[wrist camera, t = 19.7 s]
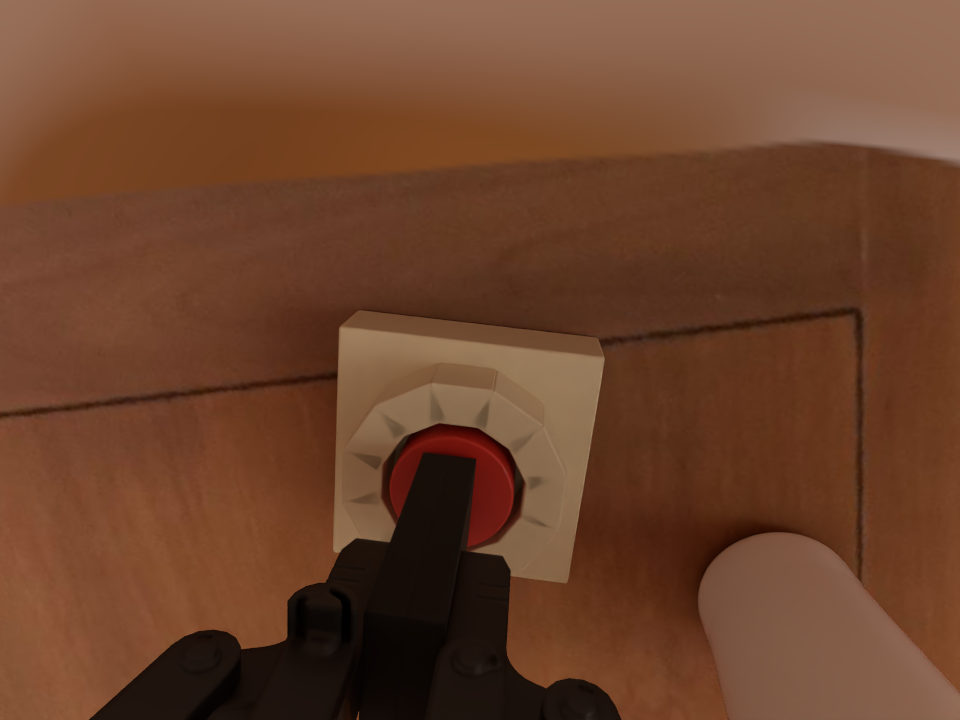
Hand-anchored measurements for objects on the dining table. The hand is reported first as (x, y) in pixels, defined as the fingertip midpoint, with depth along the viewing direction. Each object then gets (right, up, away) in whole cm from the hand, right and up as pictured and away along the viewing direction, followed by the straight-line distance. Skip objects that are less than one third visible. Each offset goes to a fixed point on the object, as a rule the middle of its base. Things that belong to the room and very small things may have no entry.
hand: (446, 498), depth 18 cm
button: (0, +1, +2) cm, 2 cm away
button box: (0, +1, +4) cm, 5 cm away
